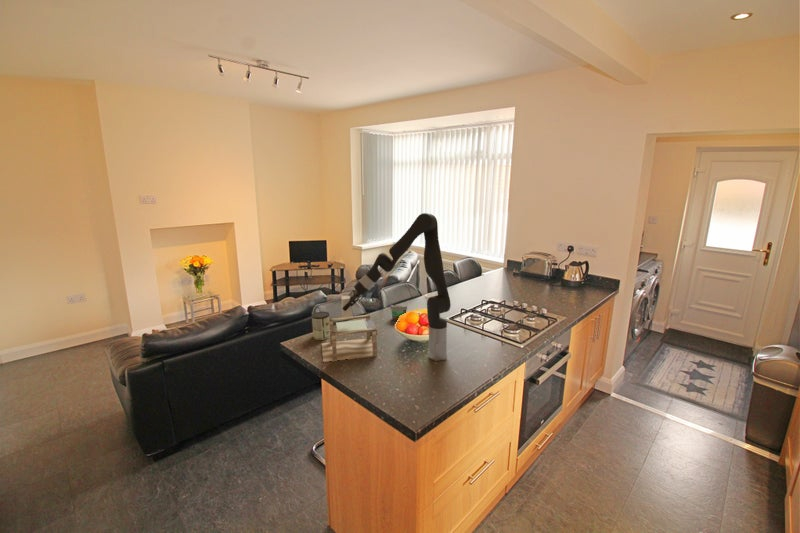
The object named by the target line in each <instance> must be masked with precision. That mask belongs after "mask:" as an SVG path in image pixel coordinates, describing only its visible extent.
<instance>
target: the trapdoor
mask: <svg viewBox="0 0 800 533" xmlns="http://www.w3.org/2000/svg"><path fill="white" fill-rule="evenodd" d="M335 325H336V332H341V331H351V330H360V329H370V328H376V336H378V329H377V327H376V325H375V322H374V320H373V319H370V320H366V318H360V319H352V320H344V321H339V322H338V321H336V322H335ZM368 333H369V335H370V336H371V337H372V332H368Z"/></svg>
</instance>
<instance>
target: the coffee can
mask: <svg viewBox="0 0 800 533" xmlns="http://www.w3.org/2000/svg"><path fill="white" fill-rule="evenodd" d="M329 319H330V312H328V311H316V312H313V313H312V314H311V321H312V334H313V339H314V340H317V341H319V340H320V341H321V340H322V341H323V340H327V339H330V325H329Z"/></svg>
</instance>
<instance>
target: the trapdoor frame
mask: <svg viewBox="0 0 800 533" xmlns="http://www.w3.org/2000/svg"><path fill="white" fill-rule="evenodd" d="M363 318H365V320H371V316H370V314H365V315H363V314H362V315H354V316H353V315H352V316H350V317H343V316H341V317H333V318H329V325H330V337H329V339H330V342H323V343H322V342H321V351H322V352H321V353H322V354H321V355H322V363H323V362H324V363H329V361H332V362H338V361H337V360H340V361H346V360H345V359H348V360H354V359H355V358H356V359H362V358H363V359H364V358H370V357H377V356H378V345H377V335H376V329H377V327H376V328H370V329H360V330H351V331H341V332H338V331H334V330H335V329H334V322H338V321H339V322H341V321H351V320H361V319H363ZM368 332H372V336H370V335H369V333H368ZM362 333H363V334H364V333H366V337H365V338H356V339H347V340H341V341H339V340H338V341H337V336H341V335H343V336H344V335H352V334H362Z"/></svg>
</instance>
